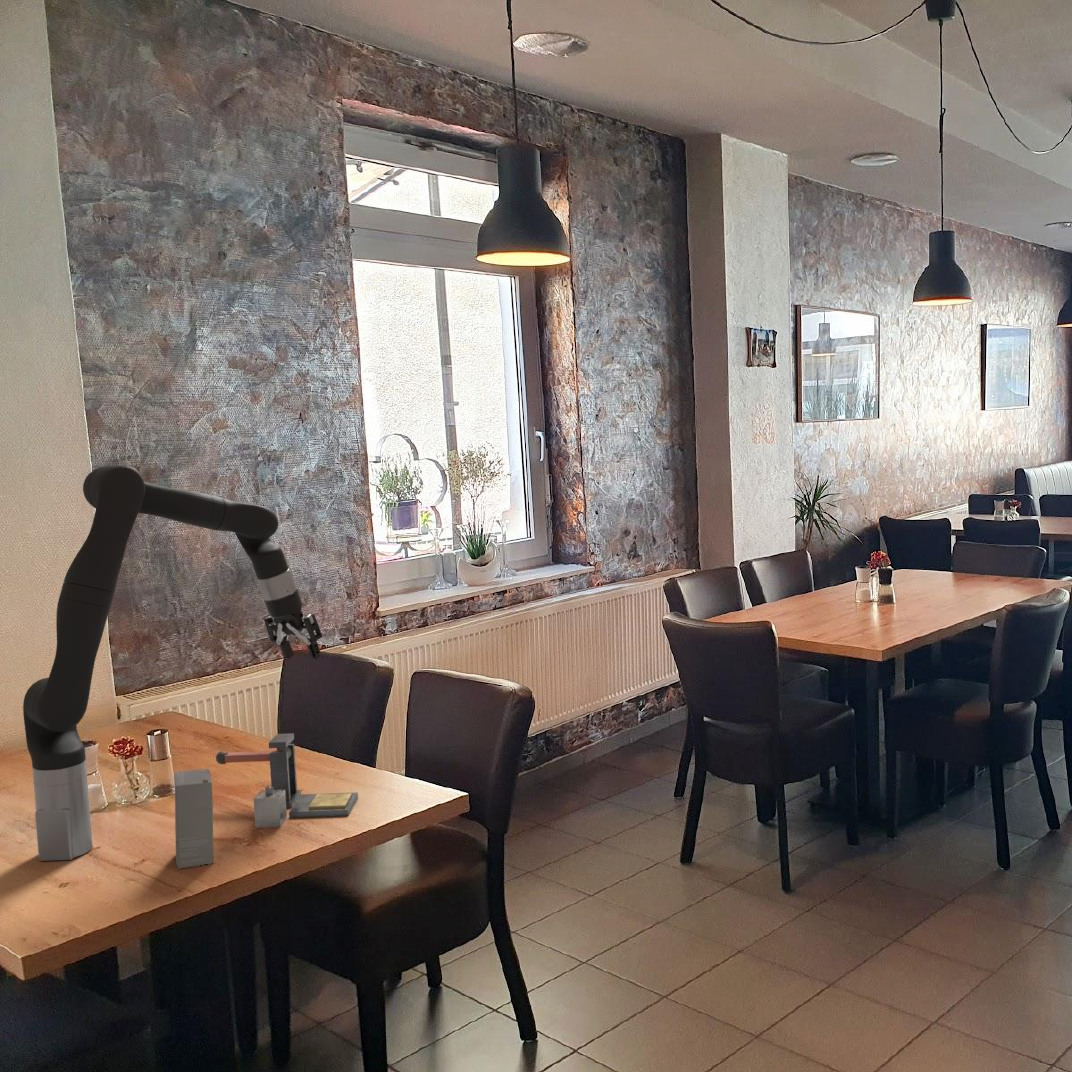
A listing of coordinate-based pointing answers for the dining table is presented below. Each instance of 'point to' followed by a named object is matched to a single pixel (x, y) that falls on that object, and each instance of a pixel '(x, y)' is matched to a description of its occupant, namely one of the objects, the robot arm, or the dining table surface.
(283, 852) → the dining table surface
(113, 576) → the robot arm
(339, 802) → the press bed
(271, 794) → the block
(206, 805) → the skincare box
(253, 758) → the press lever
